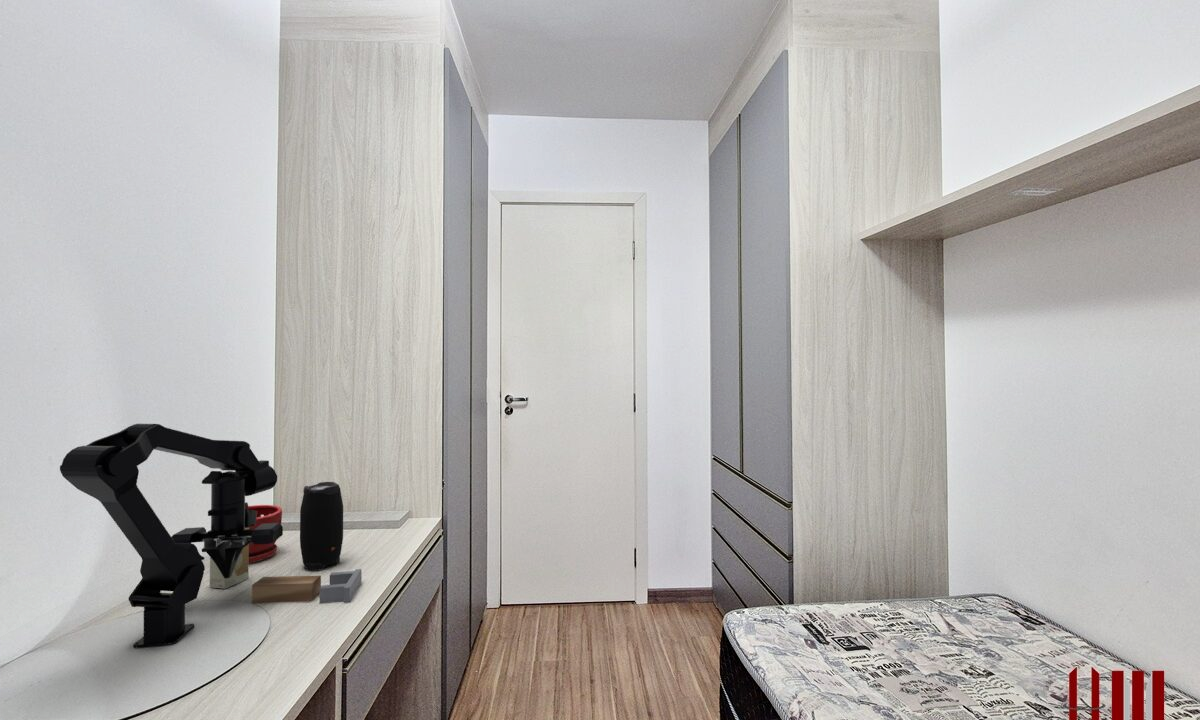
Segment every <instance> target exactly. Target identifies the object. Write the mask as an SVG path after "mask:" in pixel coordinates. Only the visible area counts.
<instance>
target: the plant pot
mask: <svg viewBox="0 0 1200 720" xmlns="http://www.w3.org/2000/svg"><path fill="white" fill-rule="evenodd" d="M248 509H249V510H255V511H258V512H257V518H256V525H255V526H250V527H249V529H255V528H257V527H258V526H260V525H261V524H267V523H280V524H281V525H282V521H283V520H282V518H283V508H281V507H280V506H278V505H272V504H259V505H257V504H256V505H248ZM276 542H277V540H276V541H275V542H273V543H270V544H257V545H255V544H254V543H253V542H251V543H250V544H249V564H251V563H256V562H260V561H263V560H266V559H269V558H270V557H272V556H273V555H274V554H276V552H277V550H278V545H277V544H276Z"/></svg>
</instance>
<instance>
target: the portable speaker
mask: <svg viewBox="0 0 1200 720" xmlns="http://www.w3.org/2000/svg"><path fill="white" fill-rule="evenodd" d="M302 491H303V492H302V493H303V496H302V500H301V505H300V509H299V510H300V511H299V518H300V519H299V545H300V552H301V553H300V554H301V558H302V564H303V566H304V568H305V569H306V570H307V572H308V571H310V572H311V571H315V572H316V571H322V570H324V568H325V567H326V566H330V565H332V564H333V565H334V566H337V565H338V564H339V563H340V561H341V558H340V557H341V555H342V548H343V540H344V503H343V497H342V492H341V487H340V484H339V483H337V482H335V481H323V482H322V481H321V482H318V483H316V484H313V485H306V486H305V485H304V487H303V490H302Z"/></svg>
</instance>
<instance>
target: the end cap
mask: <svg viewBox="0 0 1200 720" xmlns="http://www.w3.org/2000/svg"><path fill="white" fill-rule="evenodd" d="M362 575H363V574H362V568H356V569H355V570H349V571H336V572H334V571H333V572H331V573H330V574H329V584H324V585H321V587H320V594H319V604H325V603H334V602H335V603H336V602H337V603H338V602H343V603H350V602H351V601H352V599H353V598H354V596H355V594H356V593H357V591H358V590H359V589H358V588H359V587H360V585H361V584H362Z"/></svg>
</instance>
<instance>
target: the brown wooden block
mask: <svg viewBox="0 0 1200 720" xmlns="http://www.w3.org/2000/svg"><path fill="white" fill-rule="evenodd" d="M321 586H322V575H293V576H292V575H285V576H262V577H261V578H260V579H258V580H257V581H254V582H253V583H252V584H251V603H252V604H269V603H272V604H273V603H299V602H303V603H304V602H313V601H314V600H315V599H316V598H317V597H318V596H320V587H321Z"/></svg>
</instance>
